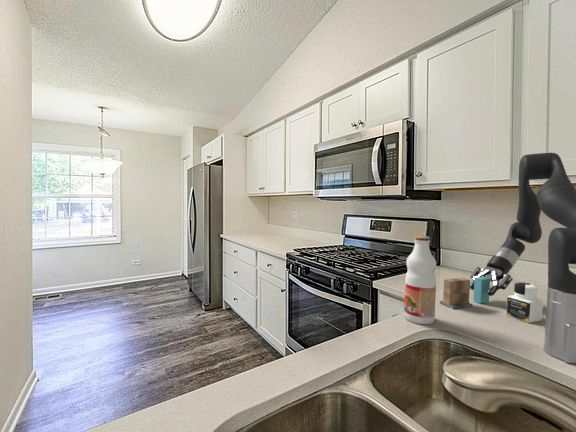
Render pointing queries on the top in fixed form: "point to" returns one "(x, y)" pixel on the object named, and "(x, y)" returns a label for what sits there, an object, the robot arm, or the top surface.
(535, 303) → the medicine bottle
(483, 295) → the teal block
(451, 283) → the brown block
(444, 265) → the top surface
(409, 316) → the fruit juice
